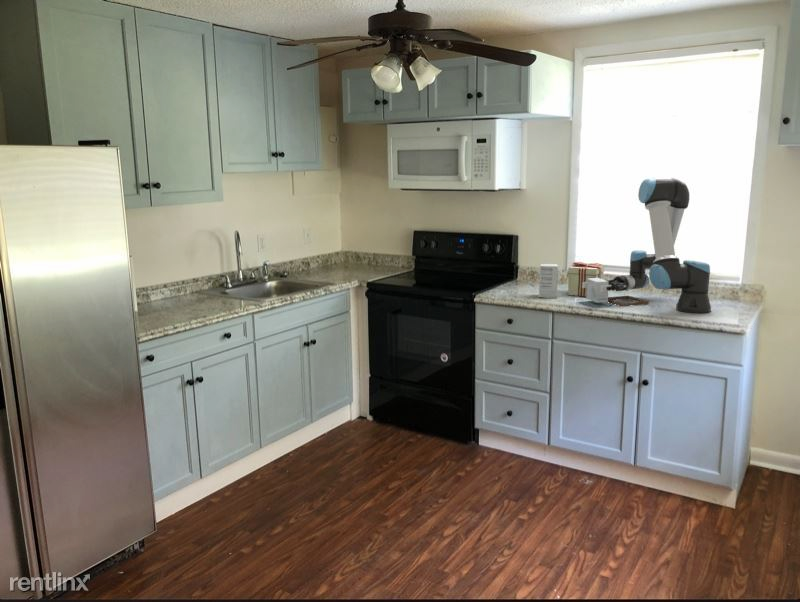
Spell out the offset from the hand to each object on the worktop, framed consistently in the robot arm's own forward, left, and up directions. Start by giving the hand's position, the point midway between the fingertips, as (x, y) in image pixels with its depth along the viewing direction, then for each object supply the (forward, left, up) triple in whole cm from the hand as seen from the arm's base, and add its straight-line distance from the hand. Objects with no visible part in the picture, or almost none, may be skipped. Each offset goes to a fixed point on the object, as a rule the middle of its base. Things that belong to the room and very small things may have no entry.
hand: (591, 287), depth 329 cm
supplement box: (+28, +7, -9) cm, 30 cm away
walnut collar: (0, -20, -9) cm, 22 cm away
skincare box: (+1, -4, -7) cm, 8 cm away
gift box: (+27, -15, -9) cm, 32 cm away
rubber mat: (+1, -4, -9) cm, 10 cm away
